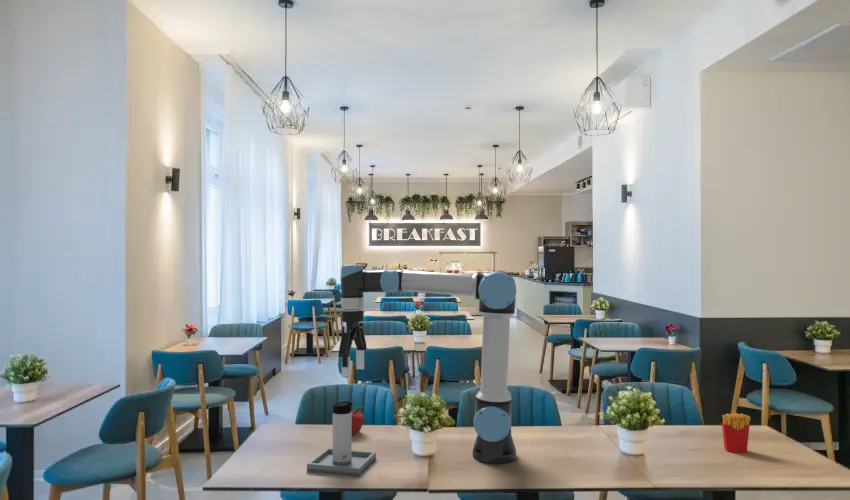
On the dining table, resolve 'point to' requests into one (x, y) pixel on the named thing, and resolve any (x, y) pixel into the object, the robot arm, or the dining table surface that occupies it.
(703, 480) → the dining table surface
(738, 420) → the french fries
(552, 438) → the dining table surface
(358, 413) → the vegetable
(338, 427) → the travel mug
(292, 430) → the dining table surface
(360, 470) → the tray
